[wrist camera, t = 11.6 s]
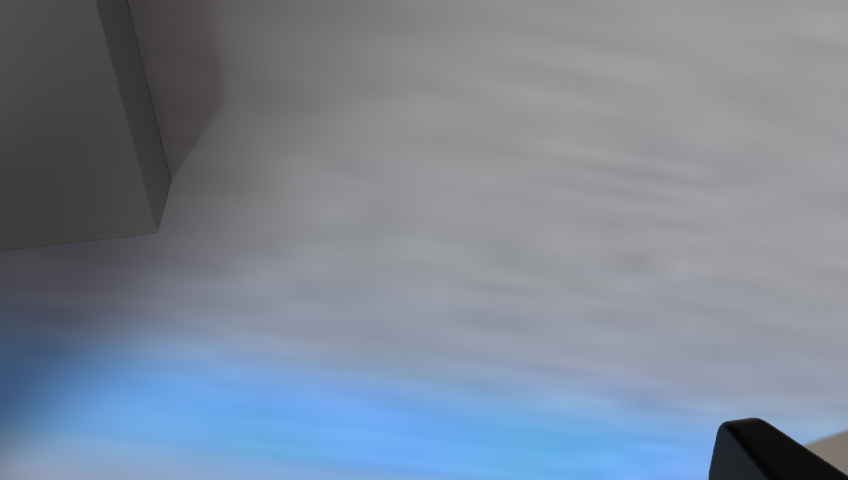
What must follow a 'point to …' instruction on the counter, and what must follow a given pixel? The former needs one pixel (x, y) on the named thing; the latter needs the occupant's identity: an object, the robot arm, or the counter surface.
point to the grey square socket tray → (75, 126)
